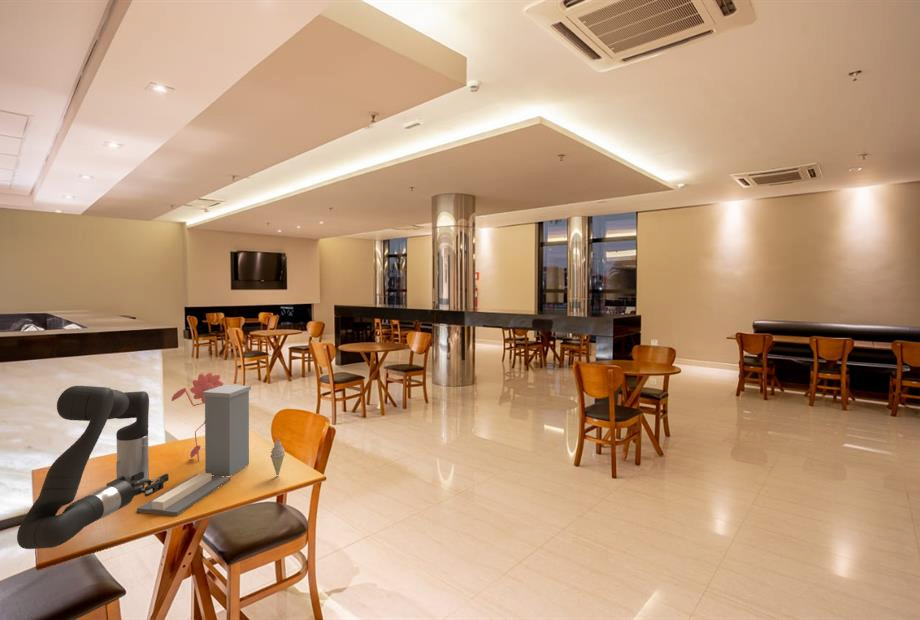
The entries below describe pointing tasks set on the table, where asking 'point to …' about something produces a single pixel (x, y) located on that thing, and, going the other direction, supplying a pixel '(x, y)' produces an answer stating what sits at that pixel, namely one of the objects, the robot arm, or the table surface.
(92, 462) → the table surface
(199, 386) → the figurine
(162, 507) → the slat
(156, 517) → the table surface
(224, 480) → the mat
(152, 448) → the table surface
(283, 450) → the ice cream cone
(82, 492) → the table surface
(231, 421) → the pedestal
